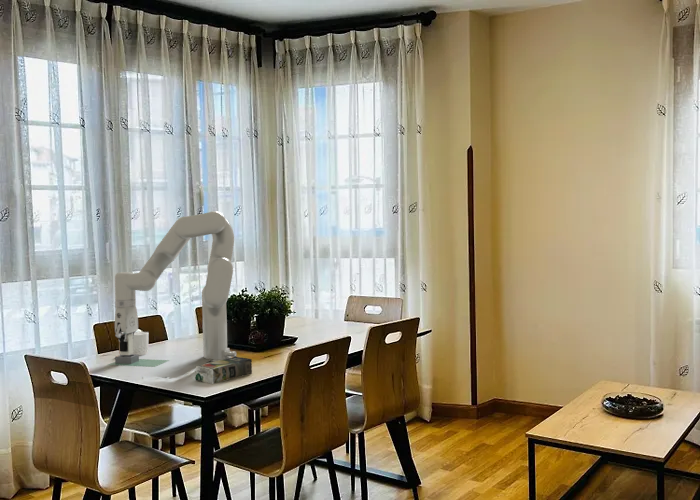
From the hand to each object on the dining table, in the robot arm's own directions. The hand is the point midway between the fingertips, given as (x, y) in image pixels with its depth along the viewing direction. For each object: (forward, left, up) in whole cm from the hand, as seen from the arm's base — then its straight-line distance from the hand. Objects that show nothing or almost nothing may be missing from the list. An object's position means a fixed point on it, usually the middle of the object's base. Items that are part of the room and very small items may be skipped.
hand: (126, 350), depth 274 cm
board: (-5, 0, -6) cm, 8 cm away
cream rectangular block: (0, 0, -2) cm, 2 cm away
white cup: (+4, -16, -7) cm, 18 cm away
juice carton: (-45, +11, -7) cm, 47 cm away
